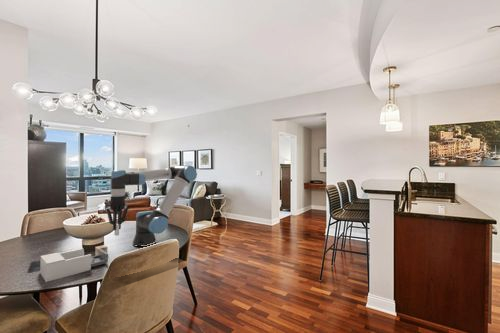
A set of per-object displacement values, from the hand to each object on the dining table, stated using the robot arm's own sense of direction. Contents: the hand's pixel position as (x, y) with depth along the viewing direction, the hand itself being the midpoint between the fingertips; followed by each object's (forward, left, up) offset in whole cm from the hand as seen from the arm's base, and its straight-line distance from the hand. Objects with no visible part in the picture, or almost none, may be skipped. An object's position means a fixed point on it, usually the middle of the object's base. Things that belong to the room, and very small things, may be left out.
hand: (116, 235), depth 138 cm
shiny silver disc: (+15, 0, -13) cm, 20 cm away
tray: (+15, 0, -13) cm, 20 cm away
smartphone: (+32, -18, -15) cm, 39 cm away
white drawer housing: (+24, 0, -14) cm, 28 cm away
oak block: (+4, -12, -14) cm, 19 cm away
